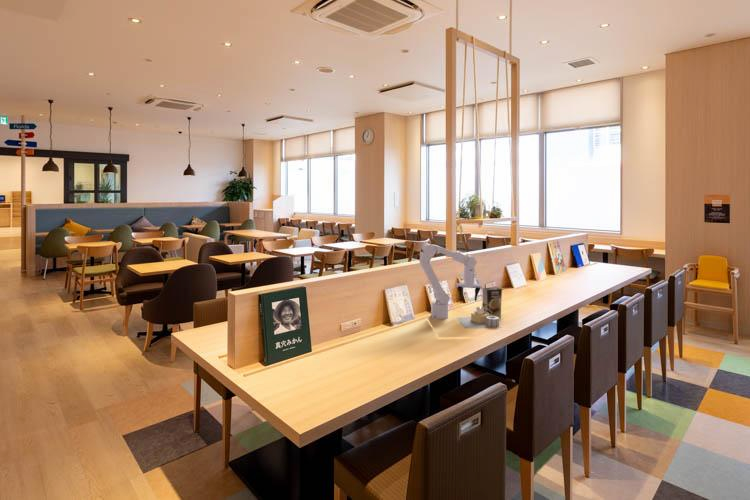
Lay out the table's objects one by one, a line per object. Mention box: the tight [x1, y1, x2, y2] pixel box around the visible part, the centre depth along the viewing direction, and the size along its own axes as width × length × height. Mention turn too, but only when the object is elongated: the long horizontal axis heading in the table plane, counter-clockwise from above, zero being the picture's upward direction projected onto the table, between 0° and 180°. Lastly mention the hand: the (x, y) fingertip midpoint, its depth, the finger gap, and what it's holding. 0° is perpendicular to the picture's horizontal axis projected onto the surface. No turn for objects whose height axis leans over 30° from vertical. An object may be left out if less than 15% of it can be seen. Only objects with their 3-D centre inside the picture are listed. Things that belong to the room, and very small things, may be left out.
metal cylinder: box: [475, 306, 484, 314], centre depth 250 cm, size 4×4×7 cm
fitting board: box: [456, 310, 504, 329], centre depth 246 cm, size 20×20×5 cm
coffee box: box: [481, 286, 503, 318], centre depth 262 cm, size 9×6×16 cm
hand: (468, 300), depth 259 cm, fingers open, 7 cm apart
